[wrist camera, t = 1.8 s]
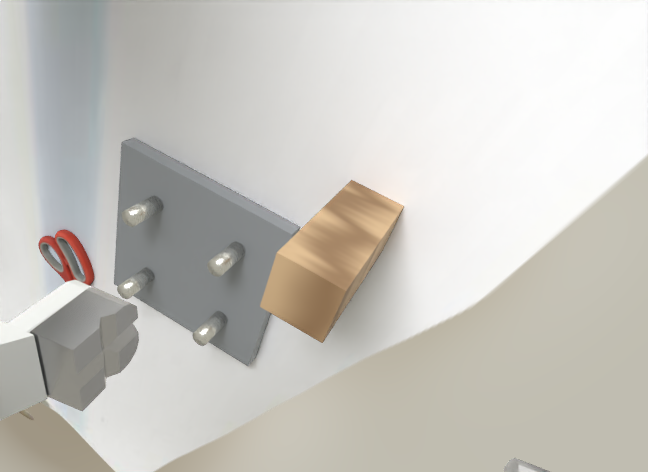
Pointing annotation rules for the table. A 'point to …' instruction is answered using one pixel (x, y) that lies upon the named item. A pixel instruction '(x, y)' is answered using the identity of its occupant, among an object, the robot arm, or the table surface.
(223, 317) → the standoff pins
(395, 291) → the table surface
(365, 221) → the oak block
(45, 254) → the scissors
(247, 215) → the plate
